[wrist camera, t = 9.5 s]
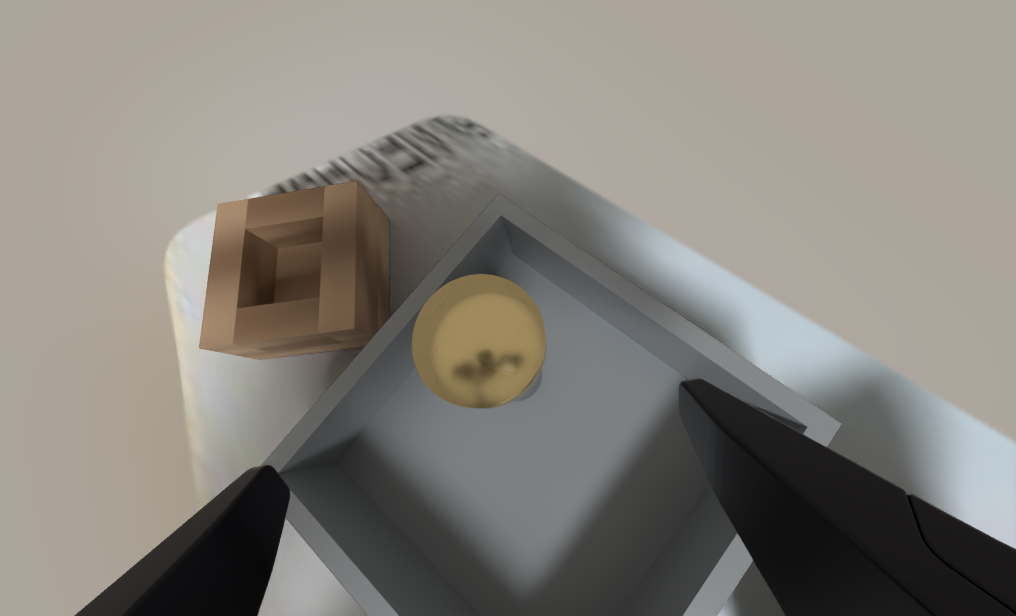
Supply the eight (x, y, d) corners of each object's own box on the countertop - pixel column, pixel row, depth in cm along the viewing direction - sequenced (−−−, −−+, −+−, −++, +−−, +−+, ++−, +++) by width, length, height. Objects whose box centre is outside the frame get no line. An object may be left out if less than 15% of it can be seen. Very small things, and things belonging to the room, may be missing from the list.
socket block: (389, 343, 22) (354, 328, 18) (259, 359, 23) (198, 348, 19) (388, 218, 24) (356, 181, 20) (270, 236, 25) (217, 204, 21)
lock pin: (556, 407, 19) (553, 400, 10) (482, 415, 20) (413, 414, 10) (547, 333, 20) (537, 266, 11) (476, 341, 21) (410, 283, 12)
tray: (768, 421, 18) (842, 423, 14) (562, 723, 16) (564, 850, 12) (511, 240, 23) (498, 193, 18) (322, 462, 21) (251, 476, 16)
